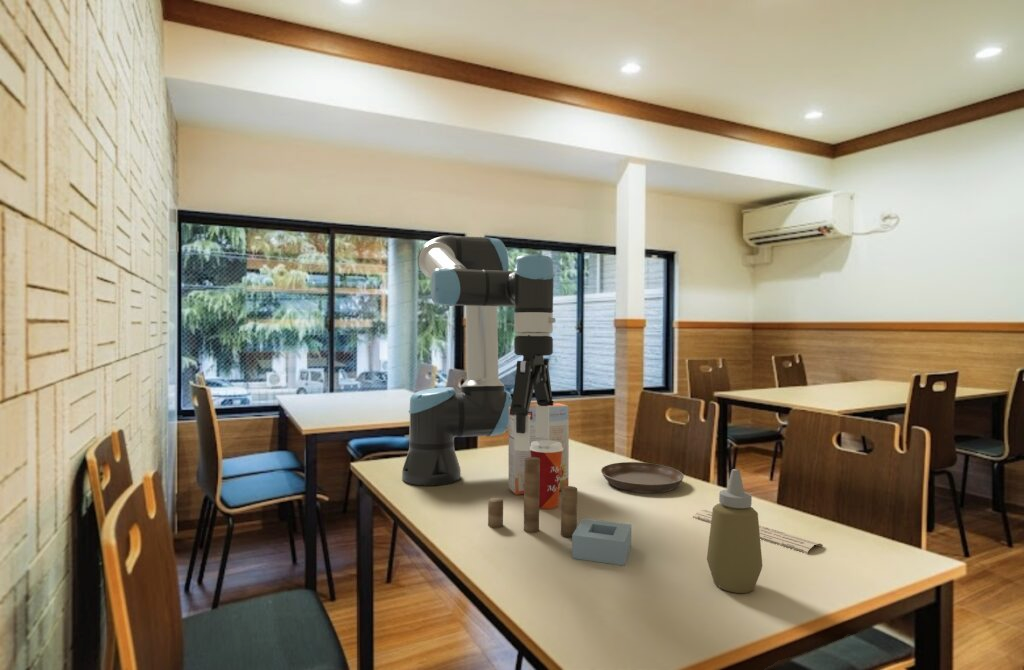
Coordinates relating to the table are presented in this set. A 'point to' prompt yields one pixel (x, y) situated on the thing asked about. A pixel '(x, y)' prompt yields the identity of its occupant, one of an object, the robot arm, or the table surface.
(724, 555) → the squeeze bottle
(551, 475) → the paper cup
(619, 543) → the slate-blue socket block
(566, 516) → the medium walnut peg
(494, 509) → the short walnut peg
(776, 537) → the newspaper
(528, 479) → the long walnut peg
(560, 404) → the cracker box
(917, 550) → the table surface
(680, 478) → the plant saucer
